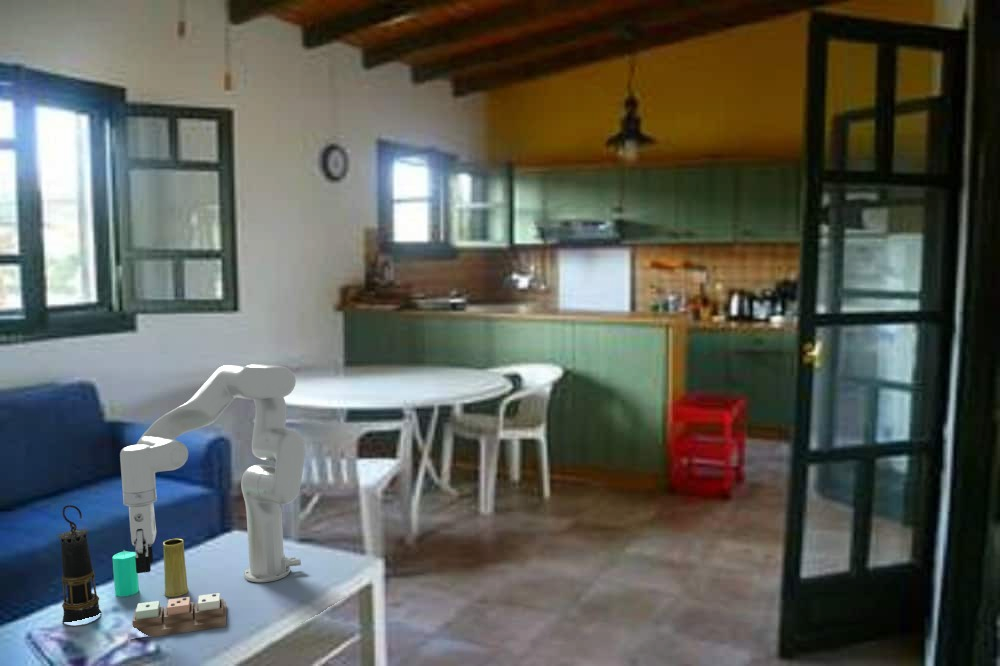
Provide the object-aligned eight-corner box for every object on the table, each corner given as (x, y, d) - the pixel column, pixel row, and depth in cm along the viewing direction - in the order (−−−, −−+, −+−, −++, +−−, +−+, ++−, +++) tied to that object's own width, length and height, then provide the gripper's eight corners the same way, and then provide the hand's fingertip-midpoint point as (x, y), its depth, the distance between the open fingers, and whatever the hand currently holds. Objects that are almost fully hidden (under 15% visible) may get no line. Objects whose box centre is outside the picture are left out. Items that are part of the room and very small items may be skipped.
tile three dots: (190, 605, 223) (189, 596, 223) (189, 614, 218) (188, 603, 218) (169, 608, 222) (168, 598, 221) (167, 616, 217) (167, 606, 217)
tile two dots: (220, 601, 225) (219, 592, 225) (219, 609, 220) (219, 599, 220) (199, 604, 224) (198, 594, 223) (198, 612, 219) (198, 602, 219)
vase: (193, 589, 241) (190, 539, 239) (178, 598, 235) (174, 547, 233) (174, 587, 243) (171, 537, 241) (159, 595, 237) (156, 544, 235)
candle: (130, 597, 237) (127, 554, 235) (110, 595, 238) (107, 552, 236) (143, 588, 242) (140, 546, 241) (124, 586, 244) (120, 545, 242)
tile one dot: (159, 609, 221) (159, 599, 221) (158, 618, 216) (157, 608, 216) (138, 612, 220) (137, 602, 219) (136, 621, 215) (135, 610, 215)
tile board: (226, 606, 229) (225, 593, 229) (225, 626, 218) (224, 612, 217) (135, 619, 223) (134, 605, 223) (129, 639, 212) (128, 626, 211)
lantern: (83, 608, 230) (74, 496, 226) (110, 613, 227) (101, 500, 223) (54, 622, 222) (44, 507, 218) (81, 628, 218) (71, 511, 215)
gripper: (153, 504, 207) (158, 578, 209) (159, 484, 224) (163, 553, 226) (118, 508, 205) (124, 582, 207) (127, 487, 222) (132, 557, 224)
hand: (144, 566), depth 217 cm, fingers open, 5 cm apart
